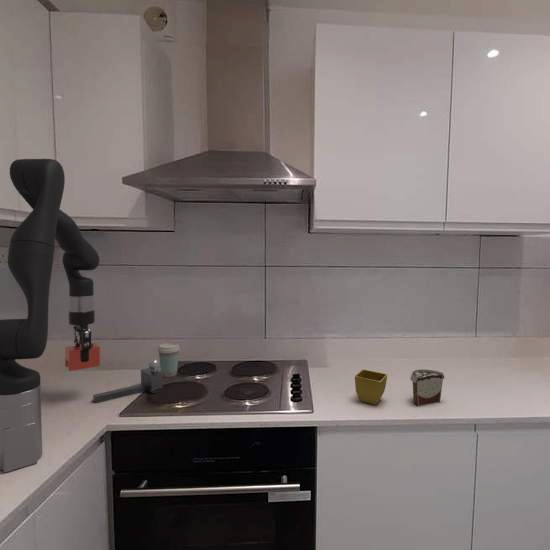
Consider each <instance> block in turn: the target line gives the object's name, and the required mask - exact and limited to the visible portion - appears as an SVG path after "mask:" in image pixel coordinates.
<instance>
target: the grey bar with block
mask: <svg viewBox="0 0 550 550" xmlns="http://www.w3.org/2000/svg"><path fill="white" fill-rule="evenodd" d="M158 369H160V359H158V358H152V359H150V360H149V362H148V367H147V368H141V369H140V384H136V385H131V386H130V385H129V386H125V387H121V388H117V389H113V390H108V391H103V392H99V393H95V394H93V396H92V401H93V403H94V404H99V403H103V402H107V401H110V400H111V401H112V400H115V399H116V400H117V399H119V398H122V397H128V396H131V395H136V394H139V393H144V392H148V393H150V391H154V390H156V389H159V388H164V385H163V382H164V381H163V380H164V379H163V375H162V374H161V372H160V371H159V370H158Z"/></svg>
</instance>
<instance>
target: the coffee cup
mask: <svg viewBox="0 0 550 550" xmlns="http://www.w3.org/2000/svg"><path fill="white" fill-rule="evenodd" d="M180 350H181V348H180V346H179V344H178V343H177V342H165V343H162V344H159V346H158V349H157V352H158V358H159V359H158V360H159V362H160V366H159V368H160V373H161V374H162V375H163V377H164V378H171V377H175V376H177V373H178V363H179V357H180Z"/></svg>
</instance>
